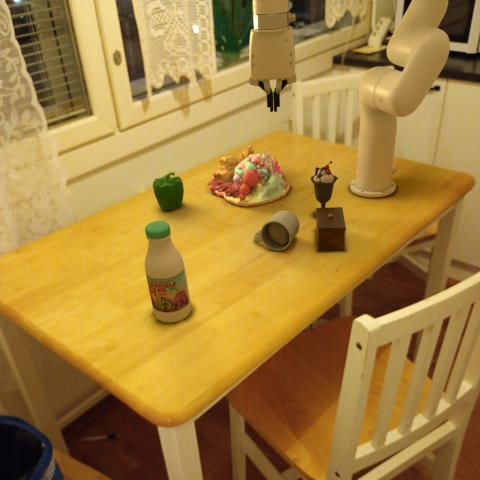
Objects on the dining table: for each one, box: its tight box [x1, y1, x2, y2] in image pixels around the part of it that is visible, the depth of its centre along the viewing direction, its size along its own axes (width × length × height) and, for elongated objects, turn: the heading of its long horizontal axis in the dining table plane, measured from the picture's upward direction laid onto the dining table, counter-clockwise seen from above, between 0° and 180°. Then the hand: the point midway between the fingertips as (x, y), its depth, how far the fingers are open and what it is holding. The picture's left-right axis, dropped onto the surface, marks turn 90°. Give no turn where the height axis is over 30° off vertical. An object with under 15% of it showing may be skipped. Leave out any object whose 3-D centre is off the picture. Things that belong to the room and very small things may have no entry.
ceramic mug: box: [253, 209, 300, 252], centre depth 126 cm, size 11×8×8 cm
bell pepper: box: [152, 171, 185, 211], centre depth 145 cm, size 8×8×10 cm
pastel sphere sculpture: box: [206, 144, 290, 207], centre depth 153 cm, size 25×24×9 cm
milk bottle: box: [144, 220, 192, 323], centre depth 103 cm, size 8×8×20 cm
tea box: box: [315, 206, 347, 252], centre depth 125 cm, size 6×10×7 cm, turn 176°
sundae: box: [310, 160, 339, 218], centre depth 134 cm, size 7×7×15 cm
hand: (273, 110), depth 123 cm, fingers closed
